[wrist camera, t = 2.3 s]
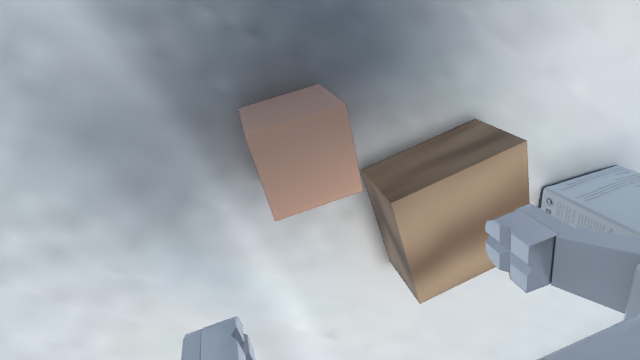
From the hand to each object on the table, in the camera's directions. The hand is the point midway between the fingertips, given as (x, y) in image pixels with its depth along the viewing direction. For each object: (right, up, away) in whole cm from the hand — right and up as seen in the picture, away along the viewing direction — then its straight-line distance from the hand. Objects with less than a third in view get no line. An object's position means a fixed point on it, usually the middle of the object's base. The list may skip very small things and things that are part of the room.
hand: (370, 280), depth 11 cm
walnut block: (+7, +2, +16) cm, 18 cm away
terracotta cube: (-3, +6, +11) cm, 13 cm away
